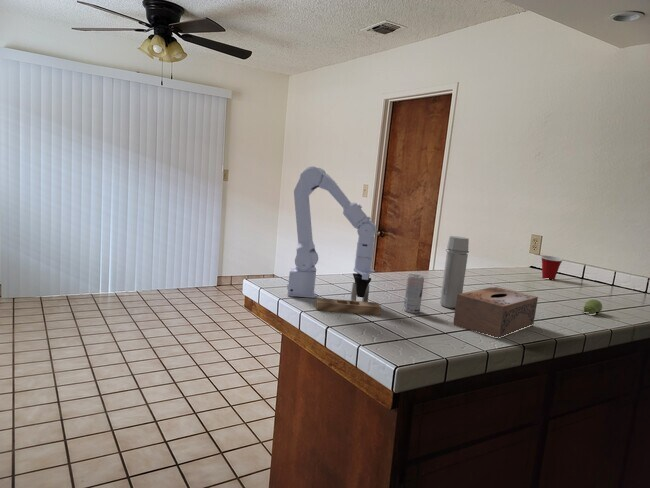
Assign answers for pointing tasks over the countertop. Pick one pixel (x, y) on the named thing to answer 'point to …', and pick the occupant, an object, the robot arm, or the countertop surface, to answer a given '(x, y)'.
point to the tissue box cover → (494, 311)
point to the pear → (592, 306)
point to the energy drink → (413, 293)
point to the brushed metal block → (354, 293)
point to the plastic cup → (550, 266)
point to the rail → (348, 306)
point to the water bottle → (454, 270)
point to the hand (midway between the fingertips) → (359, 295)
